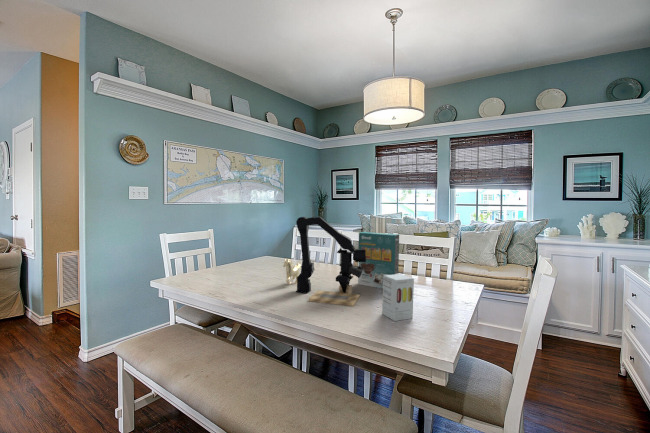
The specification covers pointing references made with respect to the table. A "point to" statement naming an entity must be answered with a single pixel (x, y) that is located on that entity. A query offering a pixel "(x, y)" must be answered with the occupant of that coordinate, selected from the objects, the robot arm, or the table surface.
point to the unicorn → (291, 270)
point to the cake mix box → (378, 257)
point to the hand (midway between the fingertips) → (345, 291)
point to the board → (334, 298)
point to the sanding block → (348, 290)
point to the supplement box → (398, 297)
